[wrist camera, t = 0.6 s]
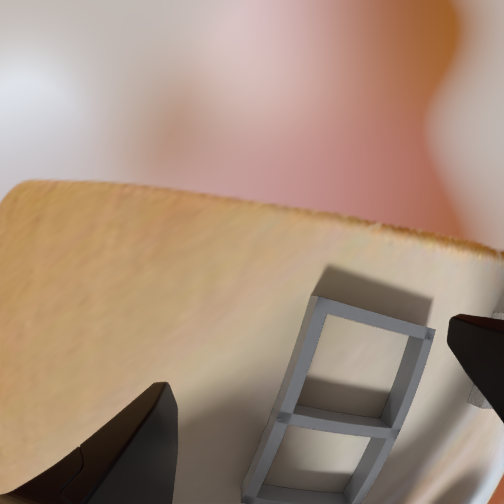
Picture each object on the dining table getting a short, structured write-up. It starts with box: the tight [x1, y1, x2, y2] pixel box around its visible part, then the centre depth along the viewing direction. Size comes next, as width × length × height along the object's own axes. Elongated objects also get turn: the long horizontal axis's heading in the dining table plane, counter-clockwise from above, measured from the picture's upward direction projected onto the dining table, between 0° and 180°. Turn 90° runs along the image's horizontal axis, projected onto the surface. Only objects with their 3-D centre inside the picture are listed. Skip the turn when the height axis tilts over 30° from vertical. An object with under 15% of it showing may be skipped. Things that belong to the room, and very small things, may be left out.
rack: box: [241, 296, 436, 504], centre depth 21 cm, size 19×11×2 cm, turn 163°
